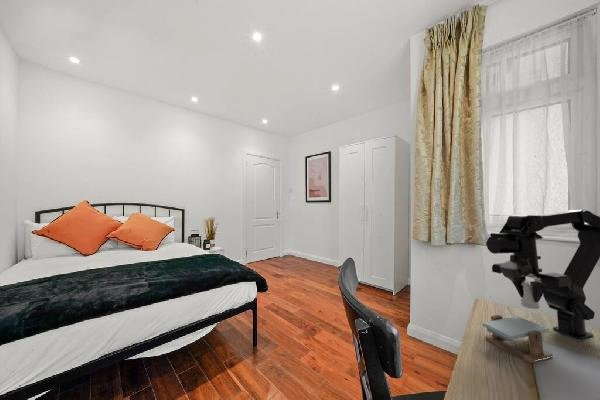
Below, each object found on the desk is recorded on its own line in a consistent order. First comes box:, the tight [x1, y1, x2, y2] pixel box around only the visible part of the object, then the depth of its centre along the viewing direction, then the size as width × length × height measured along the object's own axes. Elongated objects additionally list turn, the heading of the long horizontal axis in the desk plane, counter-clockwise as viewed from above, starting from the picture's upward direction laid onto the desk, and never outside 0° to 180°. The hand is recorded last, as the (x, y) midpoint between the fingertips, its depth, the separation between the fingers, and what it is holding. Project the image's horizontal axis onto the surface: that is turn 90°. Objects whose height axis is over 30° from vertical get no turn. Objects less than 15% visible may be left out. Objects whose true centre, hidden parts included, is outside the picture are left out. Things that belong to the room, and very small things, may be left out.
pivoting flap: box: [481, 315, 550, 342], centre depth 67 cm, size 14×8×2 cm, turn 102°
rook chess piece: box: [520, 280, 540, 310], centre depth 74 cm, size 4×4×8 cm
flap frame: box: [485, 314, 553, 364], centre depth 67 cm, size 8×12×7 cm, turn 12°
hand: (529, 299), depth 74 cm, fingers closed on rook chess piece, 3 cm apart
